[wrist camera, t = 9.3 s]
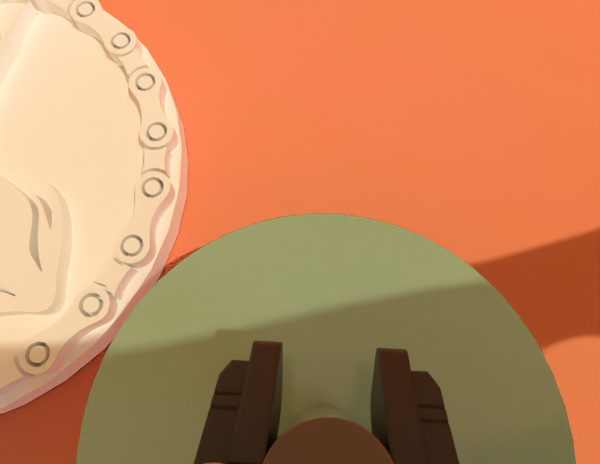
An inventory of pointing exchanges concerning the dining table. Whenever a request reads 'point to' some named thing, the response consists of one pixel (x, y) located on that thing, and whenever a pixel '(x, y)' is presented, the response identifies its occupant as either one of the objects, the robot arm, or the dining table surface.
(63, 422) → the dining table surface
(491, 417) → the lid
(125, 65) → the medallion
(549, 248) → the dining table surface
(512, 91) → the dining table surface
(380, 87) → the dining table surface
